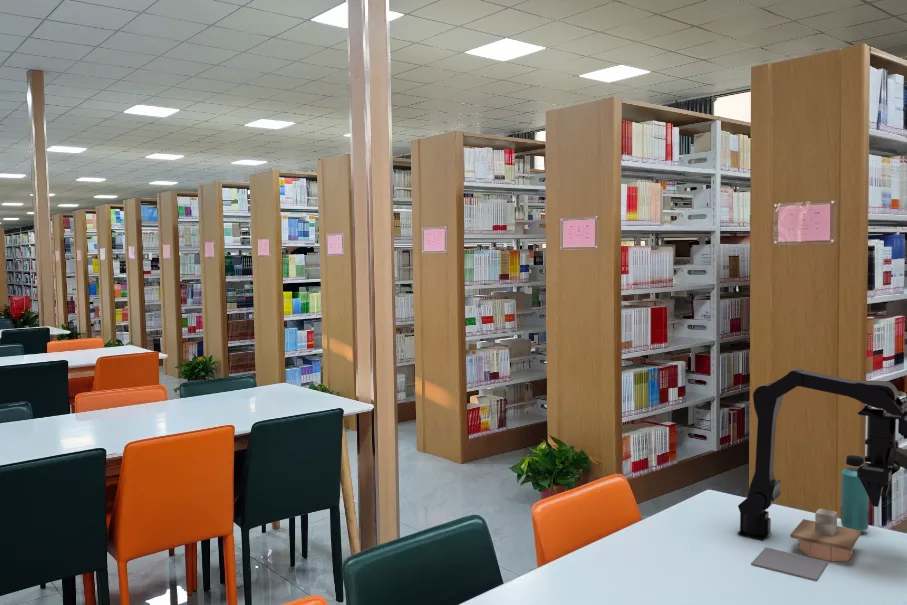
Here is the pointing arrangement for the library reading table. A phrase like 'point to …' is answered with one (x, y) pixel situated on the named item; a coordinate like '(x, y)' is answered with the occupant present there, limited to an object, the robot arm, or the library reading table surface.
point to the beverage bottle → (854, 497)
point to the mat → (790, 563)
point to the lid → (826, 531)
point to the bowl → (824, 551)
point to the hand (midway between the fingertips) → (879, 501)
